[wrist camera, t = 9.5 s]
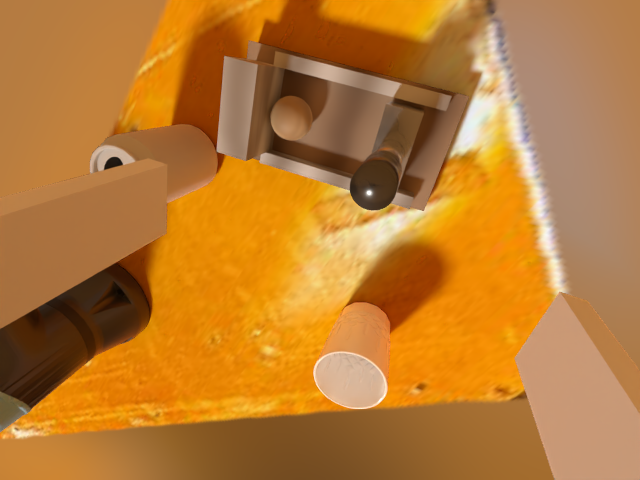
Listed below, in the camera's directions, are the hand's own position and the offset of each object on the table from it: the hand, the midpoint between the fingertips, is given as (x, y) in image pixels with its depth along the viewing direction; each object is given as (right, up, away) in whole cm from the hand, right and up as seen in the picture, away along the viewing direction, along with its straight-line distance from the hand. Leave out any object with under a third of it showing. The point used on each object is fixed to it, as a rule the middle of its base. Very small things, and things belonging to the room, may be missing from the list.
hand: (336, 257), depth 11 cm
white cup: (+5, -10, +33) cm, 35 cm away
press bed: (+2, +12, +24) cm, 27 cm away
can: (-16, +11, +30) cm, 36 cm away
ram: (+7, +10, +21) cm, 24 cm away
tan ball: (-2, +13, +23) cm, 26 cm away
